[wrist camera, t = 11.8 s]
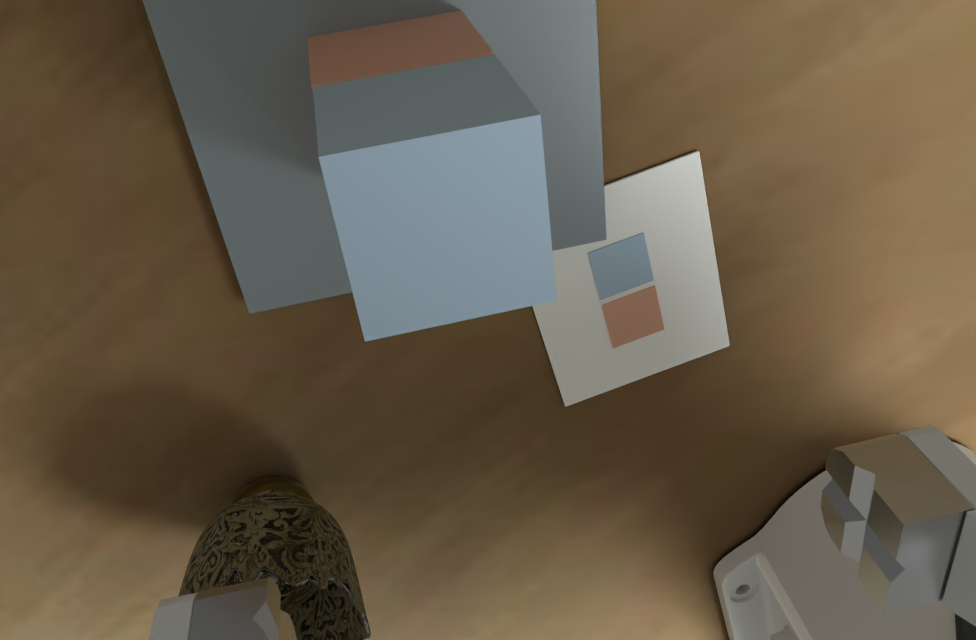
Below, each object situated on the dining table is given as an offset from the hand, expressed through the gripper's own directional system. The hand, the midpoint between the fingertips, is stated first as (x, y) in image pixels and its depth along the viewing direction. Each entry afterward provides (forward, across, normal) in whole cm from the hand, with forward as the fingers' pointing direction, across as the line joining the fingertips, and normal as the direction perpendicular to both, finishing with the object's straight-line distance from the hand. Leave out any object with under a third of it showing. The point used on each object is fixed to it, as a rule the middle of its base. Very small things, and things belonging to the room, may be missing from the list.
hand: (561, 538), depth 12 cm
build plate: (+20, 0, -1) cm, 20 cm away
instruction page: (+21, -8, +9) cm, 24 cm away
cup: (+21, +9, +17) cm, 28 cm away
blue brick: (+14, 0, 0) cm, 15 cm away
